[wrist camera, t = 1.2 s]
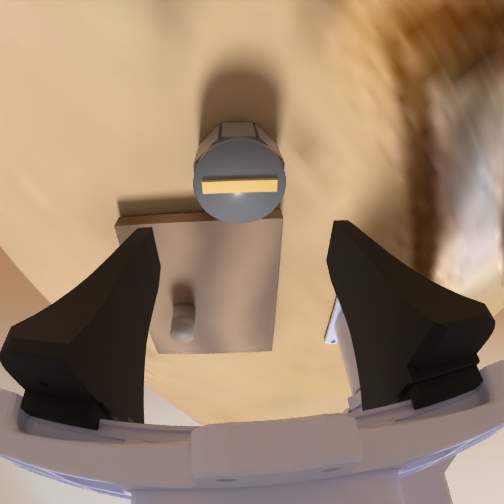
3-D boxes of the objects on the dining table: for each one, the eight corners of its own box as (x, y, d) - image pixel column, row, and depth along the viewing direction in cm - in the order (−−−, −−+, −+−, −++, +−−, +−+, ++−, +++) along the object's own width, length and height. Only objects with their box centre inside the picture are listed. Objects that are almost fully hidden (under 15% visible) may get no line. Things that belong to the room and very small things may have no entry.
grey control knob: (277, 121, 18) (289, 142, 15) (274, 191, 21) (283, 224, 18) (196, 123, 18) (188, 144, 14) (202, 193, 21) (197, 227, 18)
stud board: (280, 209, 22) (289, 242, 19) (270, 341, 32) (274, 373, 29) (118, 217, 22) (102, 250, 18) (159, 344, 31) (155, 375, 28)
